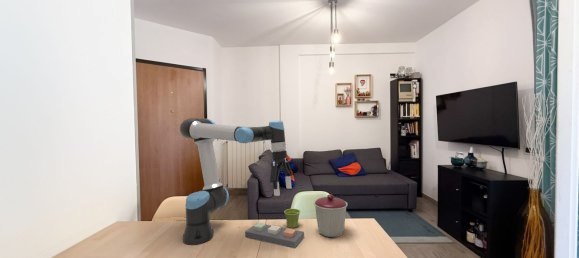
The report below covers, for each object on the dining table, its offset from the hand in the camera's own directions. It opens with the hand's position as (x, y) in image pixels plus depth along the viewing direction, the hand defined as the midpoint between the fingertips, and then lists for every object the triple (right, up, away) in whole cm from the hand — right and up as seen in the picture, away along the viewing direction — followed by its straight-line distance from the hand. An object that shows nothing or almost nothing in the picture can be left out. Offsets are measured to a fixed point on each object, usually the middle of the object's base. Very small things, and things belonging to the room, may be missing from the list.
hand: (283, 191), depth 122 cm
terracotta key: (+3, -23, 0) cm, 23 cm away
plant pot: (+5, -25, +17) cm, 31 cm away
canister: (+26, -25, +7) cm, 36 cm away
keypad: (-5, -25, +4) cm, 26 cm away
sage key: (-13, -23, +7) cm, 27 cm away
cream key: (-5, -23, +4) cm, 24 cm away
